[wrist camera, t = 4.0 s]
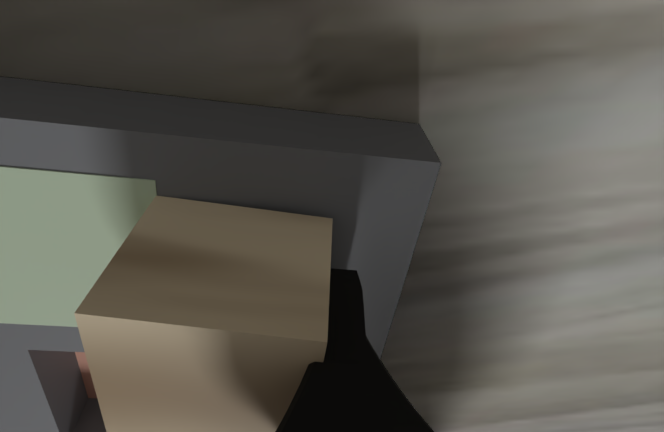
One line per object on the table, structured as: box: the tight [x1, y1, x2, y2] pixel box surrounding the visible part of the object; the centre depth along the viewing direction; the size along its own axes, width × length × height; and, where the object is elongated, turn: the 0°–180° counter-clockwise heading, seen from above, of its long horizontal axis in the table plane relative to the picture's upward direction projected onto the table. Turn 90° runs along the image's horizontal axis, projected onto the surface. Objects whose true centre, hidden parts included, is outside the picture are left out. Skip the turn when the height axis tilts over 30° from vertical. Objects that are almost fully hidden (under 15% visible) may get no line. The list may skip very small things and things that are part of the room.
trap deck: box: [0, 77, 441, 432], centre depth 15 cm, size 15×21×2 cm
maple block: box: [74, 196, 333, 432], centre depth 11 cm, size 4×4×4 cm
